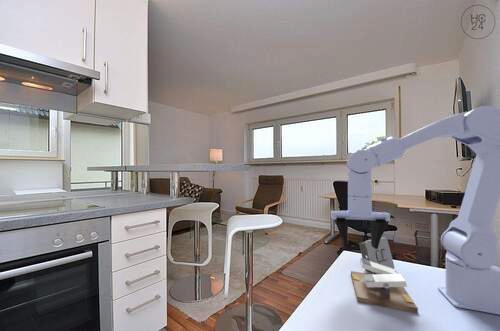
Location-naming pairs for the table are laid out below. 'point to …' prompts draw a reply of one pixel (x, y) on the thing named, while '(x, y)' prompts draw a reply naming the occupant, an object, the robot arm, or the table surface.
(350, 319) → the table surface
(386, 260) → the electrical switch
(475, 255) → the robot arm
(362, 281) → the switch board
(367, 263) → the rear rocker
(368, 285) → the block
